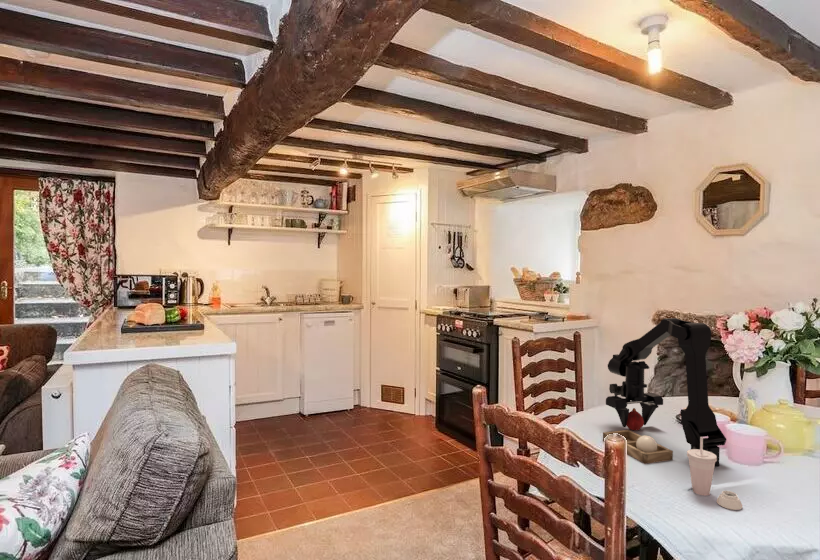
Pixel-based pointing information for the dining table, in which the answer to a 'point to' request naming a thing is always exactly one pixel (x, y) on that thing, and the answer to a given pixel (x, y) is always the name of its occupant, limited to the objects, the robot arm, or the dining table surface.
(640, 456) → the egg tray
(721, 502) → the beige round hollow piece
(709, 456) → the smoothie
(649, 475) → the dining table surface
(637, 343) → the robot arm
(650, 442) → the cream egg
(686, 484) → the dining table surface
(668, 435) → the dining table surface
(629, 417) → the onion
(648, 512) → the dining table surface
